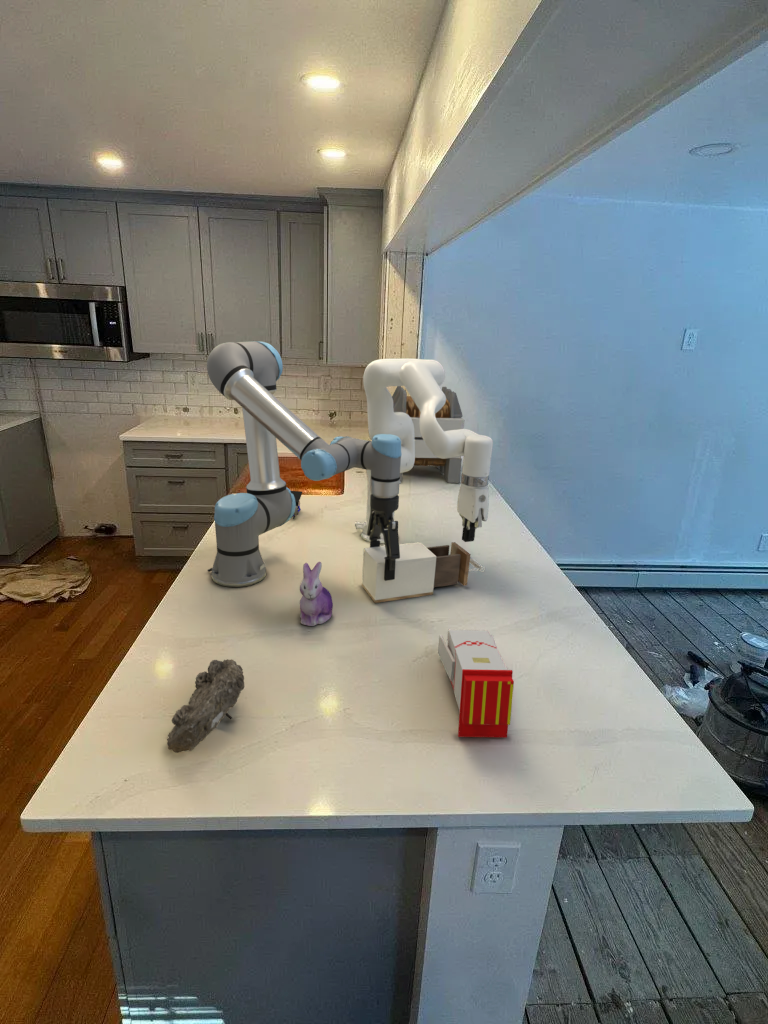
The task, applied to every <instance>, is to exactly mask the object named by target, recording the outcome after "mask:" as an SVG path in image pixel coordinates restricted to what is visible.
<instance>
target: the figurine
mask: <svg viewBox="0 0 768 1024" xmlns="http://www.w3.org/2000/svg"><path fill="white" fill-rule="evenodd" d="M322 564H323V563H322V561H318V562H317V563H316V564H315V565H314V566H313V568H312V569H311V566H310V565H309V563H307V562H305V563H303V566H302V572H303V577H302V580H301V582H300V585H299V592H300V594H301V598H300V600H299V609H300V613H299V614H300V615H299V618H300V624H302V625H304V626H309V627H314V626H317V625H322V624H324V623H326V622H328V621H329V620H330V619H331V617H332V615H333V609H334V608H333V607H334V603H333V597H332V594H331V592H330V591H329V590H328V589H327V588H326V587H325V586H323V584H322V581H321V579H320V574H321V571H322V566H323V565H322Z"/></svg>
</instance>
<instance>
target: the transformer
mask: <svg viewBox="0 0 768 1024" xmlns="http://www.w3.org/2000/svg"><path fill="white" fill-rule="evenodd" d="M441 390H442V391H443V393H444V394H445V396H446V402H445V404H444V406H443V407H442V408H441V409H440V410H439V411H438V412H437V413H435V417H436V420H437V422H438V424H439V425H440V427H441V428H442V430H443V431H449V430H458V429H465V419H464V418H463V411H462V408H461V405H460V402H459V398H458V395H457V392H455V391H453V390H452V389H451V388H447V386H442V387H441ZM407 394H408V392H407V390H406V389H404V388H403V386H396V388H395V390H394V392H393V394H392V395H391V396H392V398H393V409H394V412H404V413H406V414H408V415H409V416H410V418H411V419H412V422H413V425H414V437H415V462H414V465H413V467H415V466H416V467H417V466H418V467H436V468H437V470H438V469H439V473H440V474H441V475H443V478H444V479H445V481H446V482H447V483H449V484H455V483H456V484H459V483H461V475H462V463H463V458H462V456H457V457H452V458H446V459H441V458H438V457H436V456H435V455H434V454H433V453H432V452H431V451H430V449H429V448H428V446H427V445H426V443H425V441H424V440H423V438H422V436H421V433H420V426H419V419H420V414H421V412H420V410H419V408H418V407H417V405H416V404H415V402H414V401H413V399H412V397H411V396H410V395H407ZM403 475H404V472H403V473H400V482H401V483H402V482H403Z"/></svg>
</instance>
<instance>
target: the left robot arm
mask: <svg viewBox="0 0 768 1024" xmlns="http://www.w3.org/2000/svg"><path fill="white" fill-rule="evenodd" d="M283 367H284V365H283V360H282V357H281V355H280V353H279V352H278V349H276V348H274V346H273V345H271V344H270V343H268V342H265V341H259V340H258V341H257V340H251V341H236V342H235V341H227V342H223V343H220V344H218V345H216V346H215V347H214V348H213V349H212V350H211V351H210V353H209V355H208V357H207V360H206V371H207V375H208V378H209V380H210V382H211V384H212V385H213V387H214V388H215V389H216V390H217V391H218V392H219V393H220V394H221V395H222V396H223V397H224V398H225V399H227V400H228V401H234V402H236V403H237V404H238V405H239V406H240V407H241V409H242V419H243V428H244V434H245V444H246V451H247V460H248V461H247V462H248V468H249V469H248V470H249V479H250V481H249V482H248V483H247V485H246V487H245V490H246V492H237V493H231V494H230V493H229V494H227V495H225V496H223V497H221V498H219V499H218V501H216V503H215V505H214V514H213V515H214V516H213V519H214V528H215V529H214V531H215V543H216V554H215V558H214V561H213V565H212V567H211V568H208V569H207V572H208V573H210V572H211V580H212V581H213V582H214V583H215V584H217V585H220V586H223V587H227V588H243V587H249V586H252V585H253V586H254V585H255V584H258V583H260V582H261V581H263V580H264V579H265V578H266V577H267V567H266V562H265V561H264V558H263V556H262V554H261V551H260V544H259V543H260V540H259V538H260V537H259V536H261V535H263V534H265V533H267V532H269V531H272V530H274V529H276V528H279V527H282V526H283V525H285V524H286V523H287V522H289V521H290V520H291V519H293V515H294V512H295V508H296V502H295V497H294V495H293V494H292V493H291V491H292V490H291V489H290V488H288V487H287V482H286V481H285V480H284V479H282V478H281V474H280V473H281V471H280V463H279V461H280V460H279V454H278V453H279V452H278V443H277V440H278V441H279V442H280V443H281V444H282V445H283V446H284V447H285V448H287V449H288V450H289V451H290V452H292V454H293V455H295V457H297V458H298V459H299V460H300V468H301V470H302V472H303V474H304V476H305V477H306V478H307V479H308V480H311V481H314V482H319V481H323V480H328V479H330V478H333V476H336V475H338V474H340V473H344V472H346V471H349V470H351V469H354V468H355V469H356V468H357V469H361V470H365V471H366V470H371V485H370V492H371V493H372V494H371V495H370V507H371V508H370V519H369V525H368V530H367V535H368V536H369V539H370V540H371V541H370V542H369V548H370V547H379V546H381V543H380V541H379V539H380V538H381V537H380V534H381V533H382V534H383V537H384V543H383V544H384V546H385V549H386V555H387V557H384V559H385V573H384V580H385V581H387V580H394V579H395V562H396V559H399V558H400V550H399V544H400V540H399V538H400V537H399V521H398V520H395V518H394V519H393V512H394V511H395V512H396V511H398V510H399V504H400V503H399V502H400V496H399V494H400V485H401V484H402V482H400V464H401V455H402V453H401V439H400V438H399V437H398V436H395V435H391V434H378V435H375V436H373V438H372V440H366V439H361V438H356V437H351V436H340V435H339V436H335V437H334V438H333V440H331V441H330V443H328V442H326V441H325V440H324V439H323V438H322V437H321V436H319V435H318V434H317V433H316V432H315V431H314V430H313V429H312V428H311V427H310V426H308V425H307V424H306V423H305V422H304V421H303V420H302V419H300V418H299V417H298V416H297V415H296V414H295V413H294V412H293V411H291V409H289V408H288V407H287V406H286V405H285V404H284V403H283V402H281V401H280V400H279V399H278V398H277V397H276V396H275V395H274V394H275V393H276V392H277V391H278V390H277V389H278V388H277V381H278V380H279V379H280V378H281V375H282V374H283V370H284V369H283ZM395 512H394V513H395ZM384 529H388V530H384ZM377 540H378V541H377Z"/></svg>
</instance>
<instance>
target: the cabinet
mask: <svg viewBox="0 0 768 1024" xmlns="http://www.w3.org/2000/svg"><path fill="white" fill-rule="evenodd" d="M426 547H427V546H425V545H424V544H423V543H422V542H421V541H418V542H408V543H407V542H406V543H399V550H400V558H399V559H396V562H395V579H394V580H387V581H385V580H384V573H385V559H384V557H387V555H386V549H385V545H380V546H379V547H370V546H369V547H363V553H362V555H363V556H362V574H361V575H362V578H361V579H362V580H361V587H362V588H363V589H364V591H365V592H366V594H367V595H368V596H369V597H370V599H371V600H372V601H373V603H374V604H378V603H384V602H391V601H397V600H398V601H399V600H405V599H412V598H418V597H426V596H432V595H434V588H435V587H434V577H435V566H436V556H435V555H434V554H433V553H432V552H431V551H430V550H429V549H428V548H426Z"/></svg>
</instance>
